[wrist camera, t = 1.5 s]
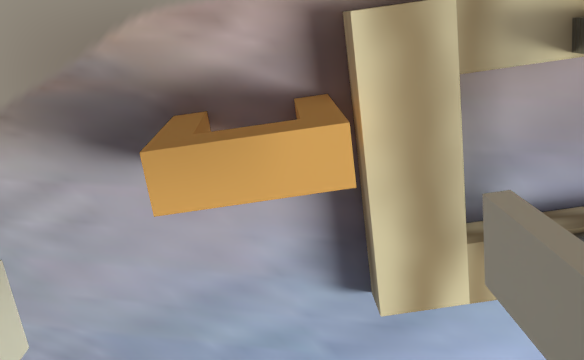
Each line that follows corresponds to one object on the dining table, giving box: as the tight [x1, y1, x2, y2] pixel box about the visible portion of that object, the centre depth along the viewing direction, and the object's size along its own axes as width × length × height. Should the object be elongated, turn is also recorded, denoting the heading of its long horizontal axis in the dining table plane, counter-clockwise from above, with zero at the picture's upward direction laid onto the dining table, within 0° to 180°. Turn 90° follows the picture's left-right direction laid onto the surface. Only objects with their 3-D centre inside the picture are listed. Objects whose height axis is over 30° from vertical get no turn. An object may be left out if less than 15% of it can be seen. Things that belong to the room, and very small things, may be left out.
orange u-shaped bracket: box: [140, 94, 356, 217], centre depth 28 cm, size 9×3×9 cm, turn 98°
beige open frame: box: [343, 0, 584, 316], centre depth 32 cm, size 25×18×3 cm
